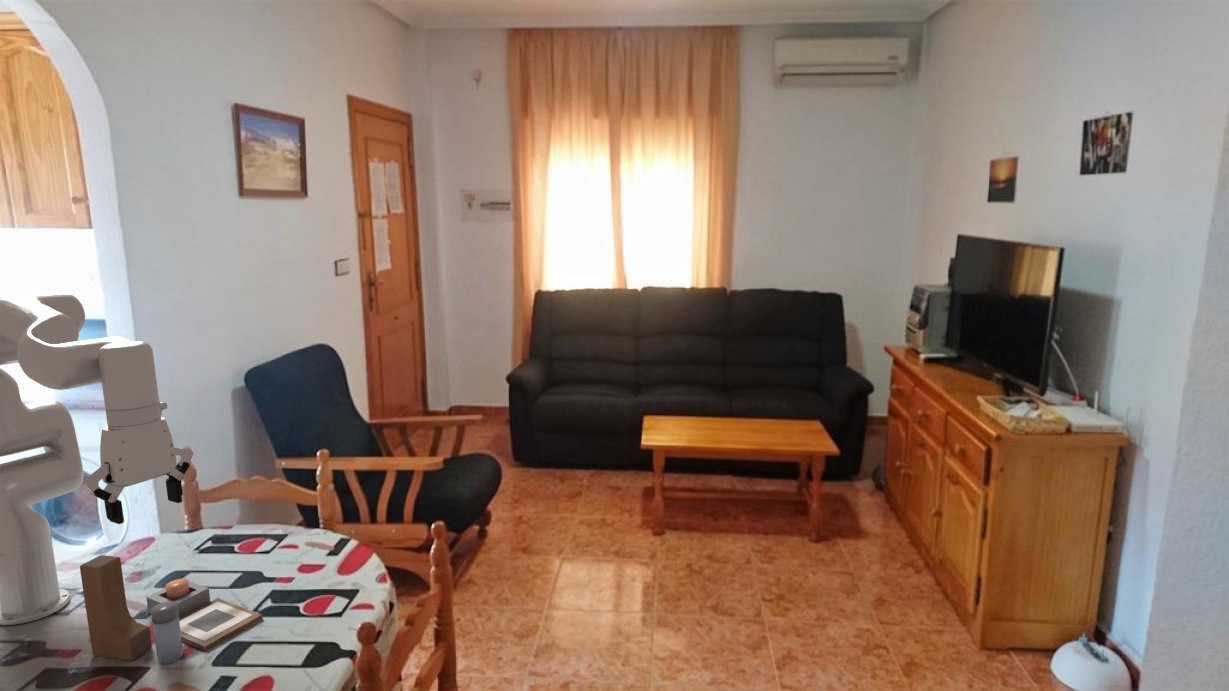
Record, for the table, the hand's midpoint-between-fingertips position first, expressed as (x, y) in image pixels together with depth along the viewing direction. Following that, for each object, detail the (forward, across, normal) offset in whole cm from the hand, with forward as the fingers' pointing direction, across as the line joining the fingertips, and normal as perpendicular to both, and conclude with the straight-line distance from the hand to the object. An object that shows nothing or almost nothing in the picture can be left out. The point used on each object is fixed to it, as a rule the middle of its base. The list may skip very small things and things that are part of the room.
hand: (147, 511), depth 121 cm
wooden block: (+30, +1, -13) cm, 32 cm away
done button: (+27, -13, -18) cm, 35 cm away
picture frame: (+30, -12, -6) cm, 33 cm away
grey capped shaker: (+30, -2, -3) cm, 30 cm away
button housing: (+30, -13, -18) cm, 37 cm away
